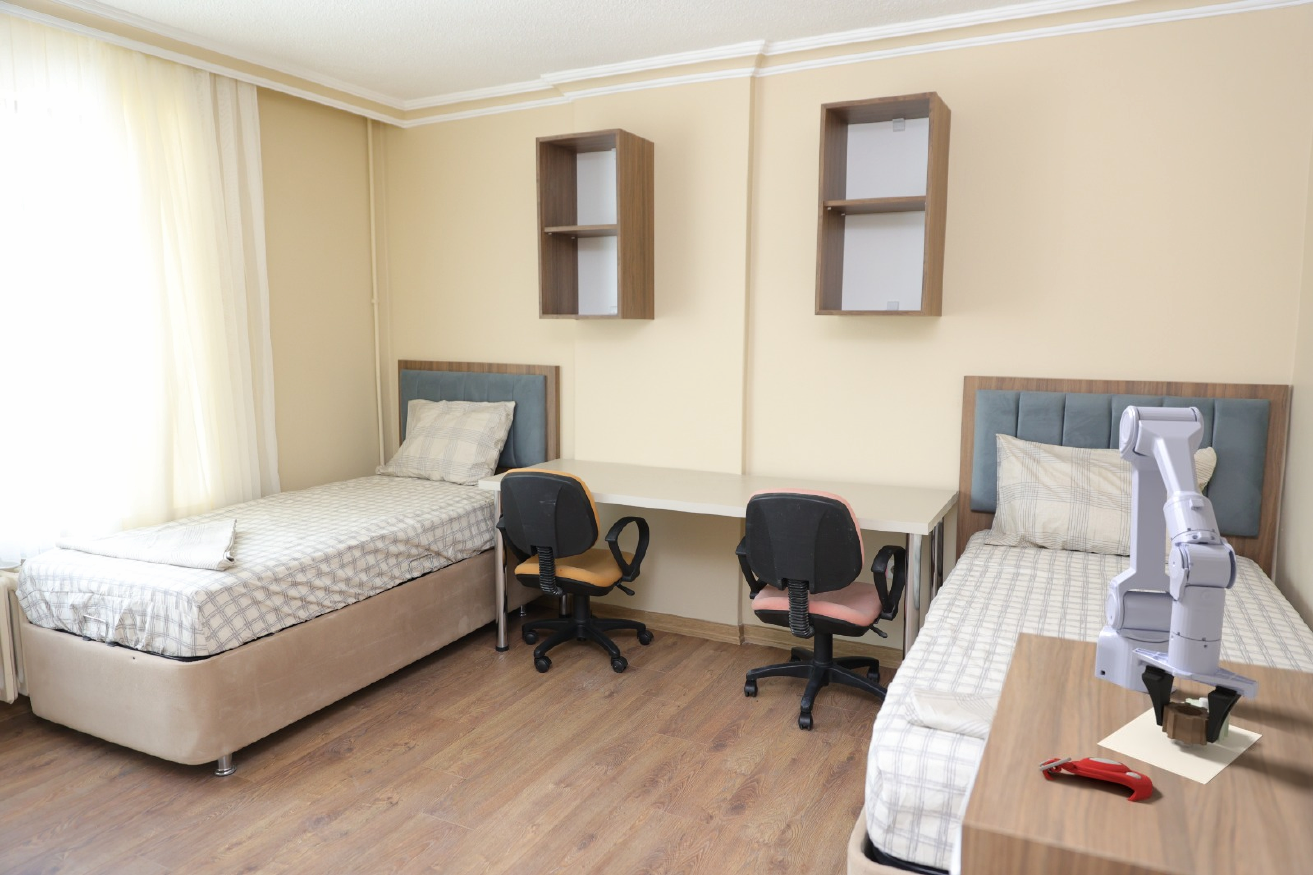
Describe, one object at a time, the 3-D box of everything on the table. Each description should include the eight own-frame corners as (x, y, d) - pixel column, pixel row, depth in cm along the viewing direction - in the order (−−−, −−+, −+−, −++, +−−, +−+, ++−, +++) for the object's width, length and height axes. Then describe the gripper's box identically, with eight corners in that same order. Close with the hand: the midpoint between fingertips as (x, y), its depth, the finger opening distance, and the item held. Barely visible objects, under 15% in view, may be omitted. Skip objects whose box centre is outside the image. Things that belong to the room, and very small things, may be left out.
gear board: (1096, 751, 117) (1099, 711, 116) (1159, 708, 129) (1162, 673, 129) (1204, 792, 107) (1208, 749, 106) (1261, 742, 119) (1265, 703, 118)
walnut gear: (1155, 734, 117) (1157, 709, 116) (1172, 722, 120) (1174, 698, 120) (1200, 749, 113) (1203, 723, 112) (1217, 737, 116) (1219, 711, 115)
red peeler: (1099, 753, 115) (1170, 770, 106) (1098, 788, 114) (1169, 809, 105) (1029, 748, 110) (1097, 767, 101) (1027, 785, 109) (1096, 807, 100)
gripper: (1124, 625, 117) (1116, 720, 119) (1248, 657, 106) (1237, 762, 108) (1146, 613, 122) (1139, 706, 124) (1268, 644, 111) (1258, 745, 113)
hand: (1186, 731), depth 116 cm, fingers closed on walnut gear, 5 cm apart
